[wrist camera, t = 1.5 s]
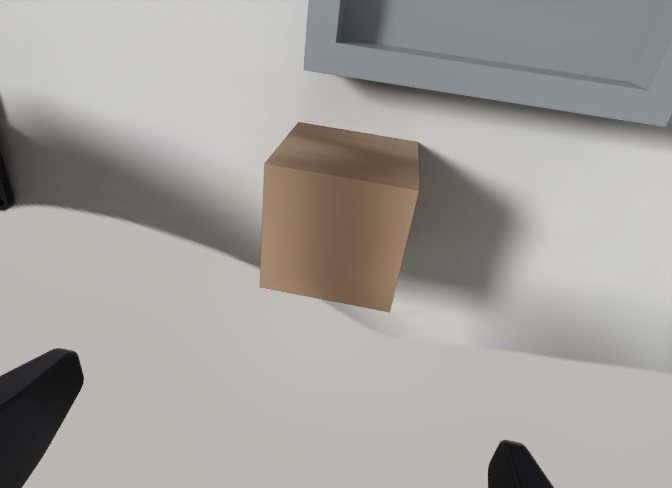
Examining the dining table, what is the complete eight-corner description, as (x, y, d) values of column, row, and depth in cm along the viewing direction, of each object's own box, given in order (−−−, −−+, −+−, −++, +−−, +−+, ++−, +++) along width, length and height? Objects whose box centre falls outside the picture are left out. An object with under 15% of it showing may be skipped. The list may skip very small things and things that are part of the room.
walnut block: (291, 225, 21) (259, 287, 17) (299, 121, 18) (264, 163, 14) (394, 244, 21) (389, 312, 16) (418, 141, 18) (419, 190, 14)
